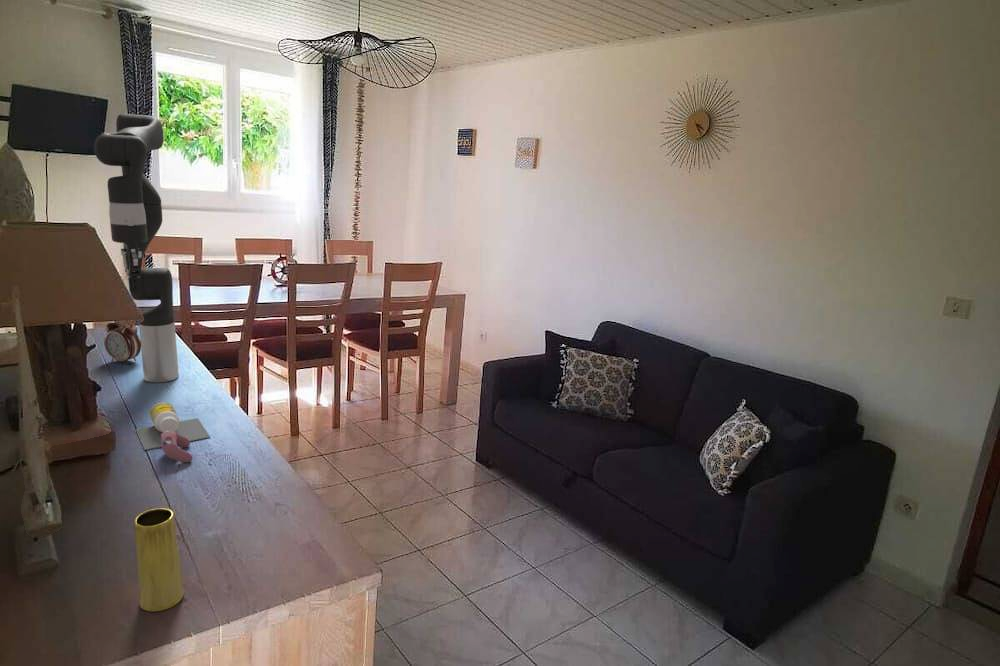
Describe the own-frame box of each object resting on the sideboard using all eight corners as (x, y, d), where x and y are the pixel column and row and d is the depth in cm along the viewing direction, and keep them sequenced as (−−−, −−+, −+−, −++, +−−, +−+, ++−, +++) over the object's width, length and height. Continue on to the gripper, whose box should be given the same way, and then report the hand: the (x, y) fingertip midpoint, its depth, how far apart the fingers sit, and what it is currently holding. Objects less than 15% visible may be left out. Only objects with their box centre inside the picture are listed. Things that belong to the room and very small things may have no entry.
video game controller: (173, 453, 146) (155, 430, 143) (191, 442, 147) (174, 420, 144) (174, 472, 138) (155, 448, 134) (194, 460, 139) (176, 437, 136)
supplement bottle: (177, 405, 159) (185, 419, 151) (167, 424, 158) (175, 439, 151) (155, 399, 155) (163, 413, 148) (145, 418, 155) (152, 433, 147)
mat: (135, 430, 153) (135, 429, 153) (197, 419, 161) (197, 418, 161) (144, 450, 143) (144, 449, 143) (210, 437, 151) (210, 436, 151)
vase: (142, 617, 93) (133, 533, 89) (136, 594, 97) (128, 513, 94) (187, 603, 96) (180, 521, 92) (180, 581, 101) (173, 502, 97)
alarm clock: (104, 361, 199) (99, 315, 195) (117, 357, 204) (113, 312, 200) (131, 366, 196) (127, 320, 192) (144, 362, 201) (140, 316, 197)
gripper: (106, 218, 154) (113, 288, 158) (113, 224, 144) (121, 298, 148) (141, 218, 158) (147, 286, 163) (150, 224, 148) (156, 296, 153)
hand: (135, 292), depth 155 cm, fingers closed
